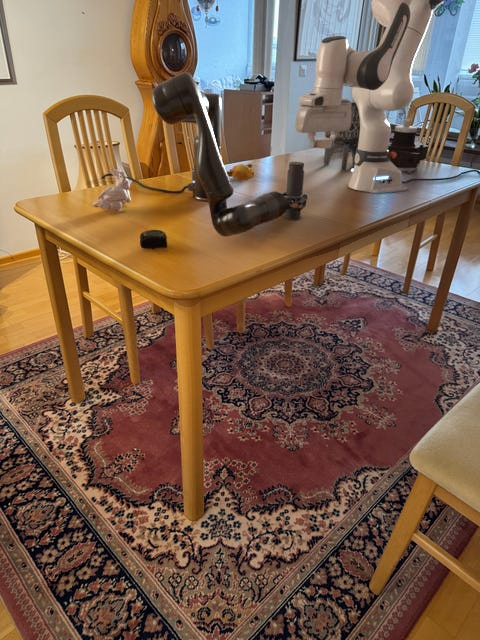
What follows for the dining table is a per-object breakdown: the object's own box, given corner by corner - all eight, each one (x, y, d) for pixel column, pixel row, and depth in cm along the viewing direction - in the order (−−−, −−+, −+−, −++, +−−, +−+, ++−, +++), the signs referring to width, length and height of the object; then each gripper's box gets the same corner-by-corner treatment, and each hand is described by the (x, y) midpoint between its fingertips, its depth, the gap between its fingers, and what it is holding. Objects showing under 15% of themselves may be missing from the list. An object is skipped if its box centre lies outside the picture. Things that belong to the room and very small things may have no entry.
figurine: (140, 206, 149) (137, 167, 143) (105, 217, 138) (99, 175, 132) (123, 202, 153) (119, 163, 146) (87, 213, 142) (81, 171, 136)
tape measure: (140, 252, 115) (139, 238, 113) (141, 242, 120) (140, 229, 119) (167, 251, 116) (166, 237, 114) (167, 241, 121) (166, 228, 120)
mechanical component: (374, 119, 196) (402, 114, 215) (366, 169, 206) (394, 160, 226) (423, 124, 184) (449, 118, 203) (412, 177, 194) (437, 167, 214)
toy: (223, 172, 179) (229, 164, 192) (228, 188, 182) (234, 178, 195) (249, 163, 176) (253, 155, 188) (254, 179, 179) (258, 170, 191)
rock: (345, 148, 251) (347, 136, 248) (358, 151, 246) (360, 138, 242) (330, 151, 244) (331, 138, 240) (343, 154, 238) (344, 141, 235)
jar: (301, 219, 141) (306, 164, 133) (286, 219, 140) (290, 164, 132) (298, 215, 145) (302, 161, 137) (283, 215, 145) (286, 161, 136)
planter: (313, 167, 208) (319, 103, 195) (331, 160, 222) (338, 101, 209) (353, 173, 199) (362, 107, 185) (369, 166, 213) (379, 104, 199)
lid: (333, 146, 146) (334, 138, 144) (327, 149, 141) (328, 140, 140) (316, 144, 148) (317, 136, 147) (309, 147, 144) (310, 138, 142)
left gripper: (290, 198, 124) (319, 187, 136) (248, 190, 132) (279, 180, 143) (288, 225, 128) (317, 212, 140) (247, 215, 135) (278, 203, 147)
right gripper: (344, 97, 145) (338, 143, 152) (294, 98, 135) (290, 147, 142) (359, 99, 140) (352, 146, 147) (308, 99, 131) (303, 150, 137)
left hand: (298, 195), depth 142 cm, fingers closed on jar, 5 cm apart
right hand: (321, 146), depth 145 cm, fingers closed on lid, 5 cm apart
